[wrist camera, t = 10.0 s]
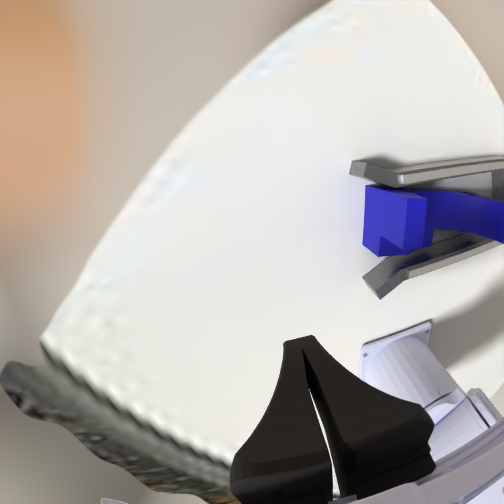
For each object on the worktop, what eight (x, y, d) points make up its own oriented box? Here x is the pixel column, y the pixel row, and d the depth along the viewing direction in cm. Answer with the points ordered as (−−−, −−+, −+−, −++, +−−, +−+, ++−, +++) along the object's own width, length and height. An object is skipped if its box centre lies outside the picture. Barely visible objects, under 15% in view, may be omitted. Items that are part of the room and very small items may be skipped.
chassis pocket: (497, 241, 21) (514, 249, 18) (362, 287, 22) (376, 303, 19) (494, 145, 18) (513, 147, 15) (346, 161, 18) (362, 163, 16)
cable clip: (361, 243, 21) (399, 273, 15) (364, 185, 19) (407, 197, 14) (466, 239, 21) (507, 260, 15) (471, 192, 20) (516, 206, 14)
